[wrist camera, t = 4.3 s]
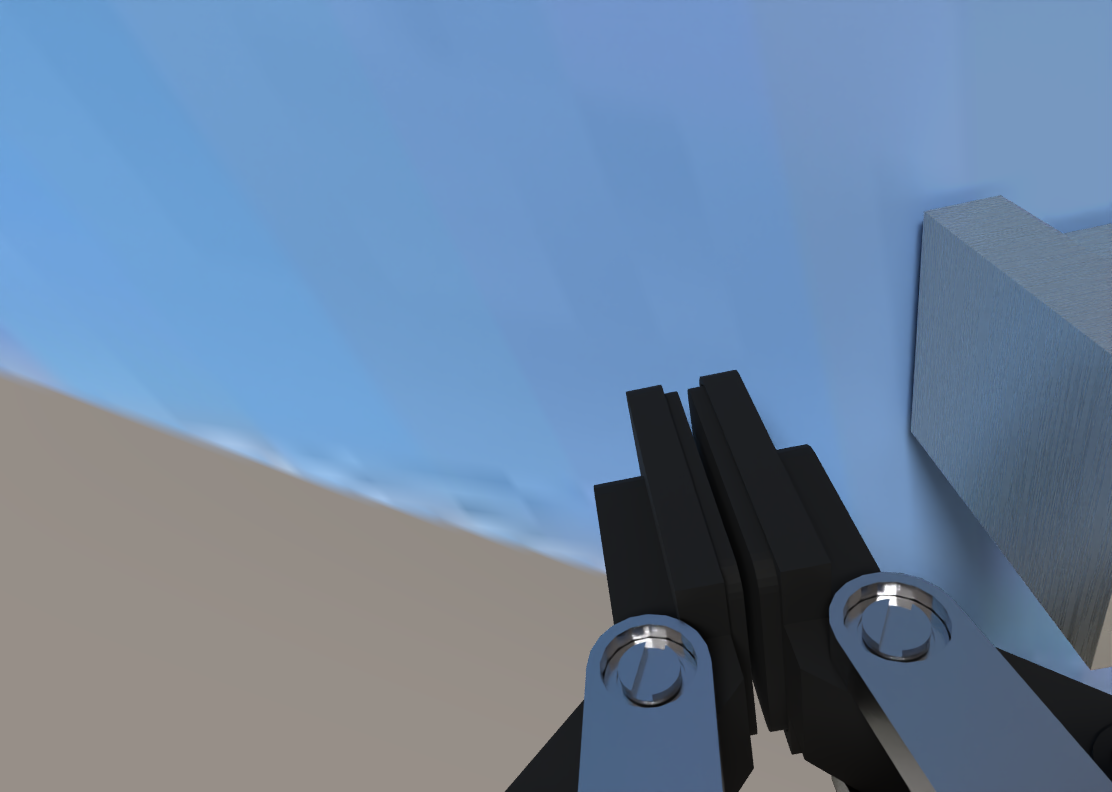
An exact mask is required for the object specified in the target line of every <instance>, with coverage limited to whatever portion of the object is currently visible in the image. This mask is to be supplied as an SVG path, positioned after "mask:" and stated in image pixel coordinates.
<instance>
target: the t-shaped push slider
mask: <svg viewBox="0 0 1112 792" xmlns="http://www.w3.org/2000/svg"><path fill="white" fill-rule="evenodd" d="M911 432H912V433H913V435H914V436H915V437H916V439H917V440H918V441H919V443H920V444H921V445H922V447H923V448H924V449H925V451H926V452H927V453H928V455H929V456H930V457H931V459H932V460H933V461H934V463H935V464H936V465H937V467H938V468H939V469H940V471H941V472H942V473H943V475H944V476H945V477H946V479H947V480H948V481H949V483H950V484H951V485H952V487H953V488H954V489H955V491H956V492H957V493H958V494H959V496H960V497H961V498H962V500H963V501H964V502H965V504H966V505H967V506H968V508H969V509H970V510H971V512H972V513H973V514H974V516H975V517H976V518H977V520H978V521H979V522H980V524H981V525H982V526H983V528H984V529H985V530H986V532H987V533H988V534H989V536H990V537H991V538H992V540H993V541H994V542H995V544H996V545H997V546H998V548H999V549H1000V550H1001V552H1002V553H1003V554H1004V556H1005V557H1006V558H1007V560H1008V561H1009V562H1010V564H1011V565H1012V566H1013V568H1014V569H1015V570H1016V572H1017V573H1018V574H1019V576H1020V577H1021V578H1022V580H1023V581H1024V582H1025V584H1026V585H1027V586H1028V588H1029V589H1030V590H1031V592H1032V593H1033V594H1034V596H1035V597H1036V598H1037V600H1038V601H1039V602H1040V604H1041V605H1042V606H1043V608H1044V609H1045V610H1046V612H1047V613H1048V614H1049V616H1050V617H1051V618H1052V620H1053V621H1054V622H1055V624H1056V625H1057V626H1058V628H1059V629H1060V630H1061V632H1062V633H1063V634H1064V636H1065V637H1066V638H1067V640H1068V641H1069V642H1070V644H1071V645H1072V646H1073V648H1074V649H1075V650H1076V652H1077V653H1078V654H1079V656H1080V657H1081V658H1082V659H1083V661H1084V662H1085V663H1086V665H1087V666H1088V667H1089V669H1090V670H1095V669H1101V668H1107V667H1112V224H1107V225H1103V226H1098V227H1093V228H1088V229H1083V230H1078V231H1073V232H1069V233H1064V234H1063V233H1061V232H1060V231H1058V230H1057V229H1055V228H1053V227H1052V226H1050V225H1048V224H1047V223H1045V222H1044V221H1042V220H1040V219H1039V218H1037V217H1035V216H1034V215H1032V214H1031V213H1029V212H1027V211H1026V210H1024V209H1022V208H1021V207H1019V206H1017V205H1016V204H1014V203H1013V202H1011V201H1009V200H1008V199H1006V198H1004V197H1003V196H1001V195H1000V196H995V197H990V198H985V199H980V200H976V201H971V202H966V203H961V204H957V205H952V206H947V207H942V208H938V209H933V210H928V211H924V219H923V236H922V253H921V269H920V286H919V303H918V319H917V336H916V353H915V369H914V386H913V403H912V420H911Z"/></svg>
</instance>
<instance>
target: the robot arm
mask: <svg viewBox="0 0 1112 792" xmlns="http://www.w3.org/2000/svg"><path fill="white" fill-rule="evenodd" d="M699 384H700V387H696V388H691V389H688V401H689V408H690V416H691V423H692V431H693V435H692V432H691V430H690V427H689V424H688V421H687V418H686V415H685V412H684V409H683V406H682V403H681V401H680V398H679V395H678V392H677V391H676V392H671V393H666V394H664V391H663V388H662V386H661V385H657V386H652V387H647V388H642V389H637V390H632V391H627V392H626V396H627V402H628V408H629V413H630V418H631V424H632V429H633V435H634V440H635V446H636V451H637V456H638V462H639V467H640V473H641V476H639V477H634V478H629V479H624V480H619V481H614V482H608V483H603V484H598V485H594V493H595V500H596V507H597V514H598V520H599V527H600V534H601V541H602V547H603V554H604V561H605V567H606V574H607V581H608V587H609V594H610V601H611V607H612V614H613V621H614V625H613V626H612V627H611V628H609V629H608V630H607V631H606V632H605V633H604V634H602V635H601V636H600V637H599V639H598V640H597V642H596V643H595V645H594V646H593V648H592V650H591V652H590V655H589V659H588V663H587V668H586V682H585V697H584V700H583V701H582V702H581V704H580V705H579V706H578V707H577V708H576V709H575V711H574V712H573V713H572V714H571V715H570V716H569V718H568V719H567V720H566V721H565V722H564V723H563V725H562V726H561V727H560V728H559V729H558V730H557V732H556V733H555V734H554V735H553V736H552V737H551V739H550V740H549V741H548V742H547V743H546V744H545V746H544V747H543V748H542V749H541V750H540V752H539V753H538V754H537V755H536V756H535V757H534V758H533V760H532V761H531V762H530V763H529V764H528V765H527V767H526V768H525V769H524V770H523V771H522V772H521V774H520V775H519V776H518V777H517V778H516V779H515V780H514V782H513V783H512V784H511V785H510V786H509V787H508V789H507V790H506V791H505V792H739V790H740V789H741V787H742V785H743V784H744V782H745V781H746V779H747V778H748V776H749V775H750V773H751V772H752V770H753V769H754V766H753V757H752V748H751V740H750V739H751V738H750V735H755V734H757V723H756V713H755V703H754V694H753V684H752V680H753V683H754V686H755V689H756V693H757V696H758V699H759V702H760V705H761V709H762V712H763V715H764V718H765V721H766V724H767V727H768V729H769V731H770V732H772V731H778V730H784V732H785V735H786V738H787V742H788V744H789V748H790V751H791V753H792V754H798V753H803V756H804V759H805V760H806V761H808V762H810V763H811V764H813V765H815V766H816V767H818V768H820V769H822V770H823V771H825V772H827V773H828V774H830V775H832V781H833V784H834V787H835V789H836V792H1112V695H1110V694H1107V693H1105V692H1102V691H1100V690H1098V689H1095V688H1093V687H1090V686H1088V685H1086V684H1083V683H1081V682H1078V681H1076V680H1073V679H1071V678H1069V677H1066V676H1064V675H1061V674H1059V673H1056V672H1054V671H1052V670H1049V669H1047V668H1044V667H1042V666H1040V665H1037V664H1035V663H1032V662H1030V661H1027V660H1025V659H1023V658H1020V657H1018V656H1015V655H1013V654H1010V653H1008V652H1006V651H1003V650H1001V649H998V648H996V647H995V646H994V645H993V644H992V643H991V642H990V641H989V640H988V638H987V637H986V636H985V635H984V634H983V633H982V631H981V630H980V629H979V628H978V627H977V626H976V624H975V623H974V622H973V621H972V620H971V619H970V618H969V616H968V615H967V614H966V613H965V612H964V611H963V609H962V608H961V607H960V606H959V605H958V604H957V602H956V601H955V600H953V599H952V598H951V597H950V596H949V595H948V594H947V593H945V592H944V591H943V590H942V589H941V588H939V587H937V586H935V585H933V584H932V583H930V582H928V581H926V580H924V579H922V578H918V577H915V576H911V575H907V574H903V573H892V572H881V571H880V569H879V568H878V566H877V564H876V562H875V560H874V559H873V557H872V555H871V553H870V551H869V549H868V548H867V546H866V544H865V542H864V540H863V539H862V537H861V535H860V533H859V531H858V530H857V528H856V526H855V524H854V522H853V521H852V519H851V517H850V515H849V513H848V511H847V510H846V508H845V506H844V504H843V502H842V501H841V499H840V497H839V495H838V493H837V492H836V490H835V488H834V486H833V484H832V483H831V481H830V479H829V477H828V475H827V474H826V472H825V470H824V468H823V466H822V464H821V463H820V461H819V459H818V457H817V455H816V454H815V452H814V451H813V449H812V448H811V446H809V445H807V444H805V445H800V446H795V447H789V448H784V449H779V450H776V449H775V447H774V445H773V443H772V441H771V439H770V437H769V434H768V432H767V430H766V428H765V426H764V424H763V422H762V420H761V418H760V416H759V414H758V412H757V410H756V408H755V406H754V404H753V402H752V399H751V397H750V395H749V393H748V391H747V389H746V387H745V385H744V383H743V381H742V379H741V377H740V375H739V373H738V371H737V370H732V371H727V372H722V373H717V374H712V375H707V376H702V377H700V379H699Z"/></svg>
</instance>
